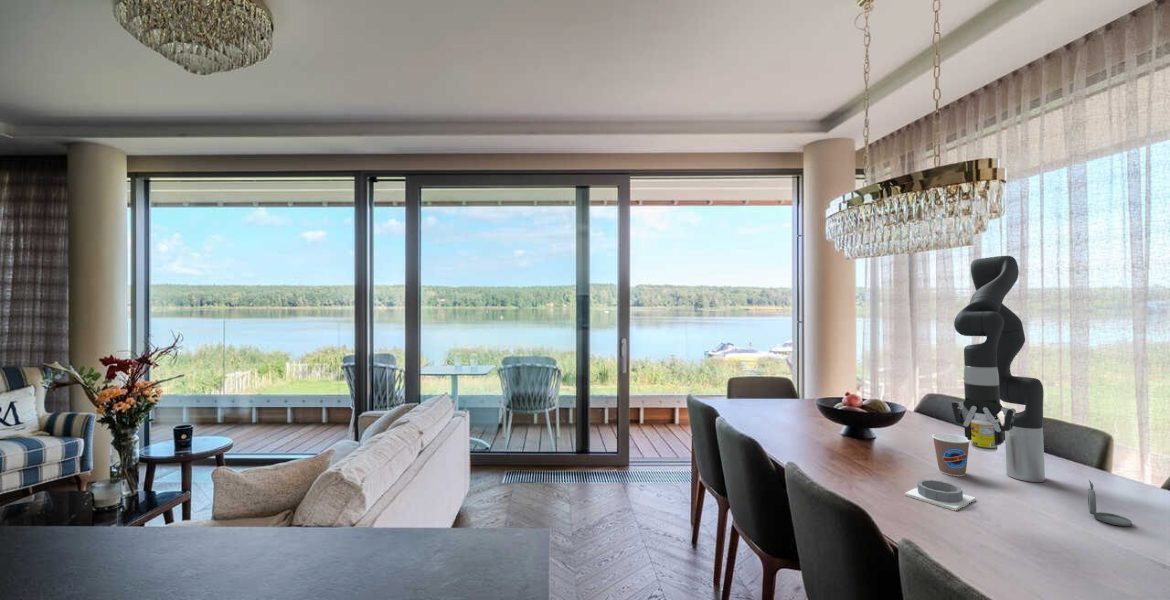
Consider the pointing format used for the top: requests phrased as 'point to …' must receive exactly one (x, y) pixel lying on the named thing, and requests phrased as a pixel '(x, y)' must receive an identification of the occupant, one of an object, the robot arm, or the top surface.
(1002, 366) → the robot arm
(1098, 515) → the pocket watch
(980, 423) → the supplement bottle
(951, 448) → the coffee cup
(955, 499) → the ring holder
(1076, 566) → the top surface
